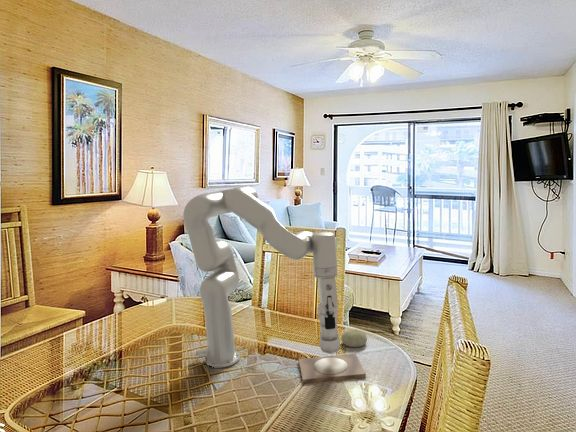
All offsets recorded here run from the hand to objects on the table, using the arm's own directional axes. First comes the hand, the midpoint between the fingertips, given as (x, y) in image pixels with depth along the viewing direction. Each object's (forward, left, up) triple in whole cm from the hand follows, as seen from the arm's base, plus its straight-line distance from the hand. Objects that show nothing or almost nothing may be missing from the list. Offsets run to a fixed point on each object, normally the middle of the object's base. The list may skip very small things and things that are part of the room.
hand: (328, 324), depth 137 cm
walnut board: (0, 0, -16) cm, 16 cm away
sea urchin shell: (+12, +18, -16) cm, 27 cm away
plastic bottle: (0, 0, -10) cm, 10 cm away
